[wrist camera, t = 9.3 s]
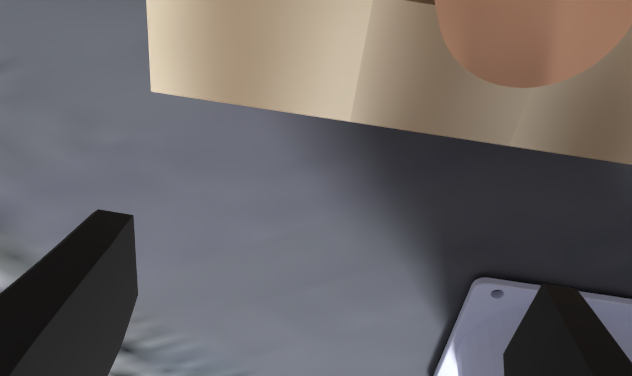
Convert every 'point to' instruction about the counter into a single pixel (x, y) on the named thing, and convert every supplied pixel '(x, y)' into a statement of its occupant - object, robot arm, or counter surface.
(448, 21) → the peg
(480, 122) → the socket block
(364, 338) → the counter surface
